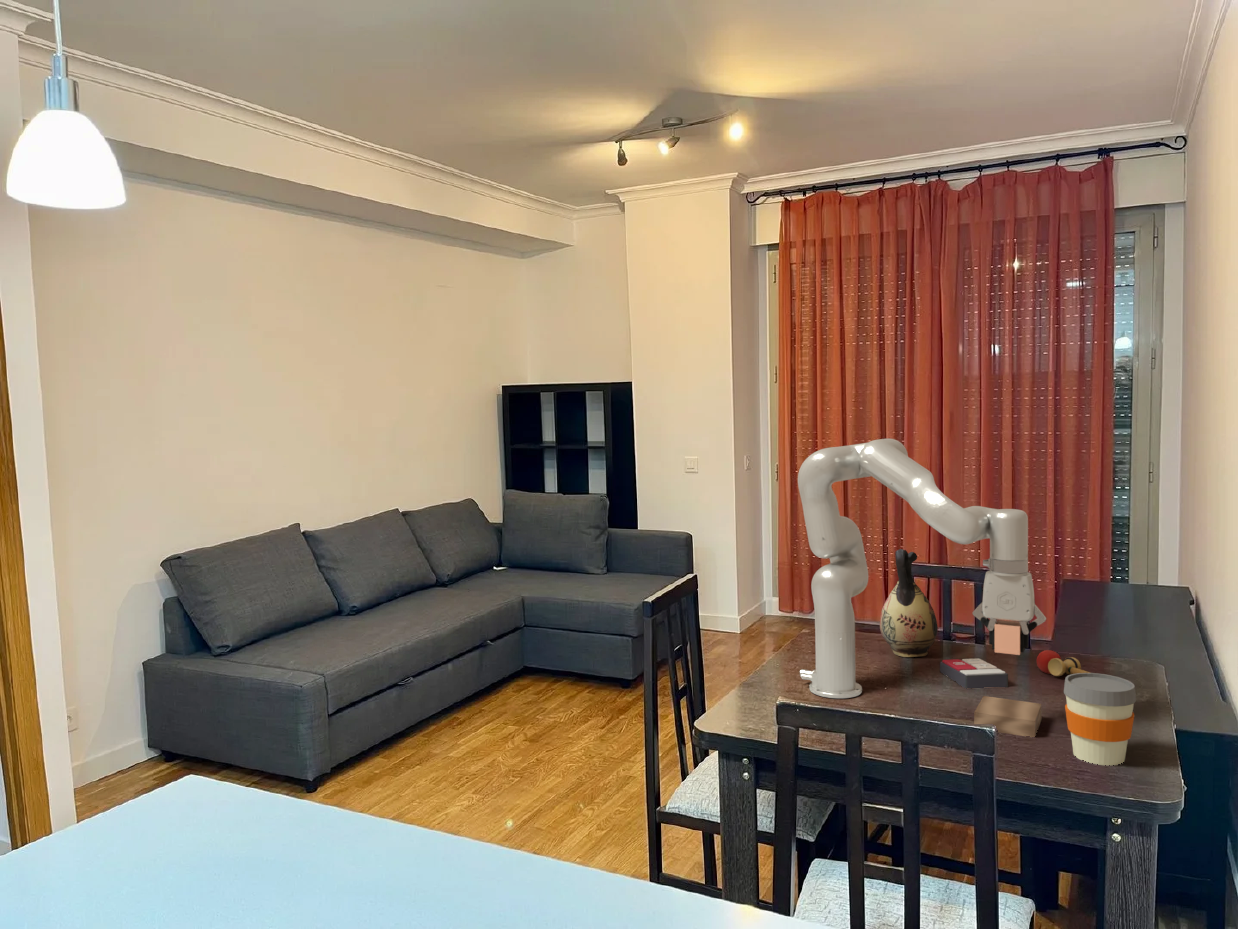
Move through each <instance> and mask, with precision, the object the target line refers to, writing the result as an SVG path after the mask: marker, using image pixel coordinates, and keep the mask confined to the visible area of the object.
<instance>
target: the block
mask: <svg viewBox="0 0 1238 929" xmlns="http://www.w3.org/2000/svg"><path fill="white" fill-rule="evenodd" d="M1021 631H1022V628H1021V625H1020V622H1019V621H1010V620H999V619H997V622H996V624H995V649H994V653H997V654H1006V655H1016V656H1020V655H1021V654H1022V652H1020V635H1021Z"/></svg>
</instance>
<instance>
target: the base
mask: <svg viewBox="0 0 1238 929" xmlns="http://www.w3.org/2000/svg"><path fill="white" fill-rule="evenodd" d="M1042 705H1043V704H1042V703H1037V702H1029V701H1023V700H1018V699H1017V700H1015V699H1010V698H1009V699H1008V698H1001V697H995V696H994V697H993V696H987V695H983V696H982V698H981V700H980V702H979V703H978V704H977V706H976V708H975V710H974V711H973V712H974V713H973V723H974V724H993V725H995V726H996V728H997V730H998V732H997V733H1000V734H1001V733H1002V734H1007V735H1014V736H1020V737H1021V736H1022V737H1026V736H1030V737H1029V738H1032V737H1035V736H1037V734H1036V733H1038V731H1039V728H1040V725H1041V722H1042V712H1043V711H1042V710H1043V706H1042ZM974 724H973V725H974ZM1037 730H1038V731H1037ZM1035 738H1036V737H1035Z"/></svg>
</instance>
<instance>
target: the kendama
mask: <svg viewBox="0 0 1238 929" xmlns="http://www.w3.org/2000/svg"><path fill="white" fill-rule="evenodd" d="M1036 666H1037V668H1038V669H1039V671H1041V672H1042V673H1044V674H1048V675H1053V676H1054V677H1061V676H1063V675H1064V674H1065V675H1066V676H1068V675H1071V674H1076V673H1091V671H1087V670H1084V669H1082V664H1081V663H1080V661H1079V659H1077V658H1076V657H1073V656H1068V657H1065V658H1063V660H1062V657H1061V655H1060V654H1059V653H1058V652H1056V651H1054V650H1050V649H1046V650H1042V651H1041V652H1039V653H1038V655H1037V657H1036Z"/></svg>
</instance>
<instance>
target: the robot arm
mask: <svg viewBox="0 0 1238 929" xmlns="http://www.w3.org/2000/svg"><path fill="white" fill-rule="evenodd" d="M908 454H909V453H908V451H907V449H906V447H905V445H904V444H903V443H902V442H900V441H899V440H897V439H894V438H881V439H874V440H871V441H868V442H863V443H856V444H850V445H843V446H841V445H840V446H832V447H825V448H821V449H819V450H817V451H814V452H813V453H811V454H810V455H809V456H808V457H806V458H805V460H803V462H802V464H801V465H800V468H799V469H798V470H799V471H798V473H797V486H798V491H799V497H800V501H801V505H802V511H803V517H804V524H805V528H806V535H807V539H808V540H807V541H808V545H809V549H810V551H811V552H812V553H813V555H814V556H816V557H817V558H818V559H819V558H820V559H829V562H830V563H828V564H825V565H823V566H821V567H820V568H819V569H818V570H816V571H815V573H814V574H813V576H812V579H811V582H810V583H811V585H810V587H811V595H812V601H813V608H814V609H813V610H814V629H815V633H814V634H815V635H814V636H815V643H814V644H815V647H814V648H815V669H813V670H808V669H803V668H801V669H800V670H799V676H800V677H801V679H802V680H804V681H805V680H808V681H810V683H809V691H810V692H811V693H812V694H814V695H816V696H820V697H823V698H829V699H849V698H850V699H851V698H855V697H858V696H860V695H861V694H862V693H863V687H862V685H861V684H859V683H858V682H856V619H855V613H854V608H853V604H852V598H854V597H856V596H857V595H858V596H859V594H861V593H862V592H864V591H865V589H866V588H867V586H868V583H869V570H868V569H869V568H868V564H867V557H866V554H865V553H866V552H865V547H864V542H863V538H862V534H861V531H860V528H859V527H858V525H857V524H856V523H855V522H854V520H853V519H850V518H849V517H847V516H842V515H841V513H840V510H839V503H838V499H837V496H836V494H835V492H834V490H833V487H832V485H833V484H834V483H837V482H844V481H848V480H853V479H854V480H855V479H861V478H862V479H863V478H869V477H872V478H873V479H875V480H876V481H878V482H879V483H880V484H881V485H884V486H885V487H887V488H888V489H889V490H890V491H892V492H893V493H895V494H896V495H897V496H899V497H900V498H901V499H903V500H904V501H906V502H907V503H908V504H909V506H910V507H911V509H912V510H913V511H914V512H915V514H917V515H918V517H919V518H920V519H922V520H923V521H924V522H925V523H926V524H927V525H928V526H930V527H931V528H933V530H935V531H937V532H938V533H940V534H941V535H943V536H944V537H945V538H946V539H949V540H950V541H952V542H953V543H956V544H958V545H959V544H960V545H969V544H970V545H971V544H973V543H975V542H978V541H981V540H985V539H986V540H987V539H989V558H988V559H983V560H982V566H983V567H984V566H985V567H987V568H988V569H989V570H987V571H986V572H985V575H984V581H983V588H982V590H983V591H982V602H981V603H980V604H979V605H977V607H976V608H975V609H974V610H973V611H972V615H973V617H975V618H976V619H978V620H979V621H980V623H981V624H983V626H985V627H986V629H987V630H988V632H989V635H988V640H989V641H988V642H989V645H991V649H992V650H995V624H996V622H997V621H998V620H1005V621H1016V622H1020V625H1021V628H1022V631H1021V635H1020V652H1021V654H1022V653H1025V651H1026V649H1029V640H1030V639H1029V633H1031V632H1032V631H1033V630H1034V629H1036V628H1037V627H1038V626H1040V625H1042V624H1044V623H1045V622H1046V620H1047V617H1046V616H1045V615H1044V613H1043V612H1042V611H1041V610H1040V608H1039V607H1038V605H1036V603H1035V600H1036V599H1035V590H1034V589H1035V588H1034V582H1033V577H1032V576H1033V575H1032V573H1031V572H1029V519H1028V518H1029V517H1028V514H1027V513H1026V511H1024V510H1021V509H1017V508H1016V509H1015V508H1000V509H999V508H993V507H992V508H991V507H986V506H981V505H972V506H968V507H963V506H961V505H960V504H957V503H956V502H955V501H953V500H952V499H950V498H949V497H948V496H947V495H945V494H944V493H943V492H942V491H941V490H940V489H939V487H938V486H937V485H936V482H935V477H934V475H933V473H932V472H931V471H930V470H928V469H927V468H926V467H925V466H922V465H921V464H920V463H918V462H917V461H915V460H914V459H912V458H911V457H909V455H908ZM1034 616H1035V617H1036V618H1035V619H1034ZM1032 619H1034V620H1032ZM1030 621H1031V622H1030ZM1029 622H1030V623H1029Z"/></svg>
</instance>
